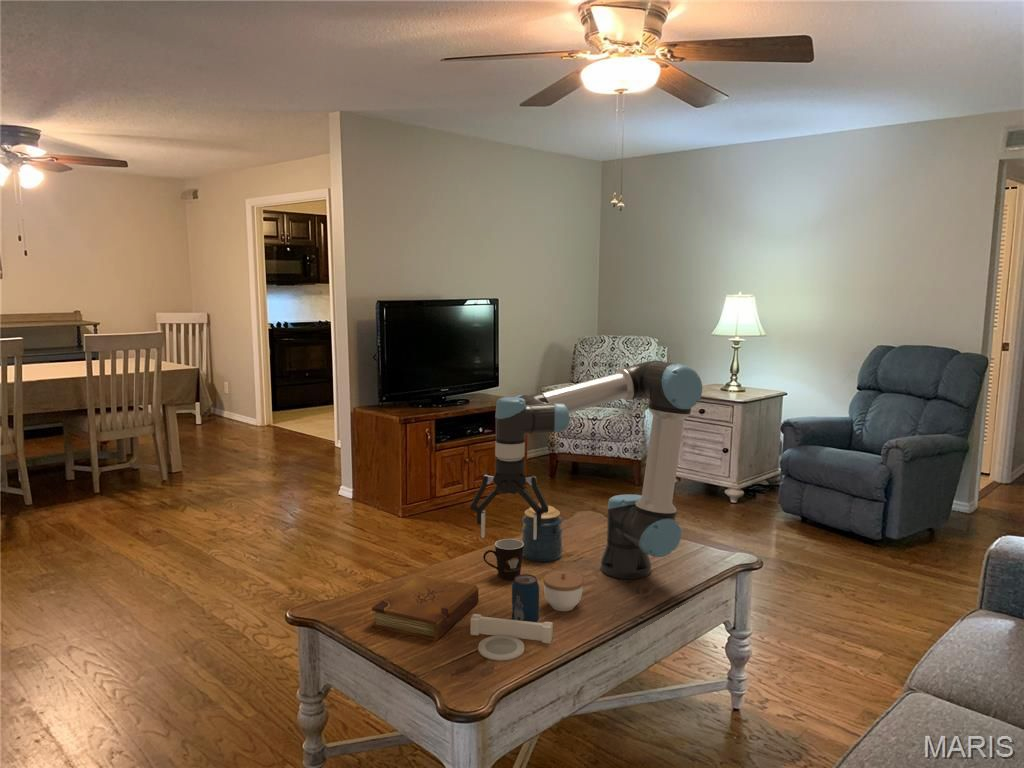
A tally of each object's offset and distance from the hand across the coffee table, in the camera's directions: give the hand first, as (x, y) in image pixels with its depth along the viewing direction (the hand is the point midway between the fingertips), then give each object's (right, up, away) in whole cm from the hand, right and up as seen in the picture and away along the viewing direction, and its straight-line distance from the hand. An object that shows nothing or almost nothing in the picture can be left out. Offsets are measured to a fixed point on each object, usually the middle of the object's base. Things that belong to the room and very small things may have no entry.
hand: (508, 537), depth 187 cm
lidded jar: (+15, -20, +6) cm, 26 cm away
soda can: (+4, -22, -4) cm, 22 cm away
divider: (+1, -22, -10) cm, 25 cm away
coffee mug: (-2, -17, +26) cm, 31 cm away
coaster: (-2, -23, -17) cm, 28 cm away
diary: (-21, -21, +1) cm, 30 cm away
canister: (+10, -15, +43) cm, 46 cm away
